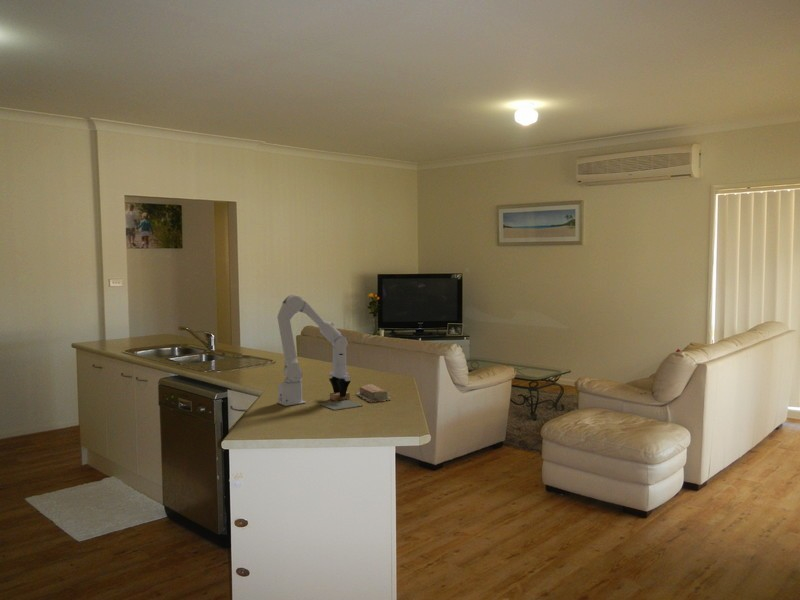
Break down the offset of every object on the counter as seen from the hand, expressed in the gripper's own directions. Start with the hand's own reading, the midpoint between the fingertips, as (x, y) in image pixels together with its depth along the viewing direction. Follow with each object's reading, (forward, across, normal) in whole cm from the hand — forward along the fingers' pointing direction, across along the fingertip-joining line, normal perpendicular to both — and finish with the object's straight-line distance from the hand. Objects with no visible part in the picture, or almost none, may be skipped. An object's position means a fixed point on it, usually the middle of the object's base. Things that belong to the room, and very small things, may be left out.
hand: (339, 395), depth 274 cm
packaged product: (+2, -5, -14) cm, 14 cm away
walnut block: (+2, 0, 0) cm, 2 cm away
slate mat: (+2, -11, +6) cm, 12 cm away
